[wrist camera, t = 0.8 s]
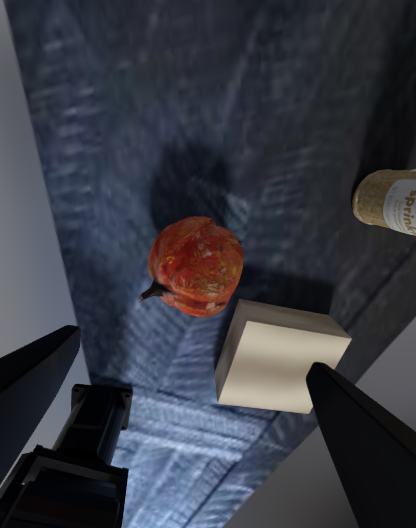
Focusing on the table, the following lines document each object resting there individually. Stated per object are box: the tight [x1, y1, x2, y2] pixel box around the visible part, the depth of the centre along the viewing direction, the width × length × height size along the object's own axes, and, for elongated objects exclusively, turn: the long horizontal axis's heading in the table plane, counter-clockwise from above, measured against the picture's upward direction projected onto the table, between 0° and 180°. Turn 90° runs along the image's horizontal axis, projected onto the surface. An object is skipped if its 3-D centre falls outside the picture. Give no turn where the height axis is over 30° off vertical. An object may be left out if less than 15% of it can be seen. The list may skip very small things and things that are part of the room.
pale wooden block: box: [215, 299, 351, 414], centre depth 23 cm, size 10×10×4 cm
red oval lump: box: [139, 216, 244, 317], centre depth 17 cm, size 7×7×10 cm
